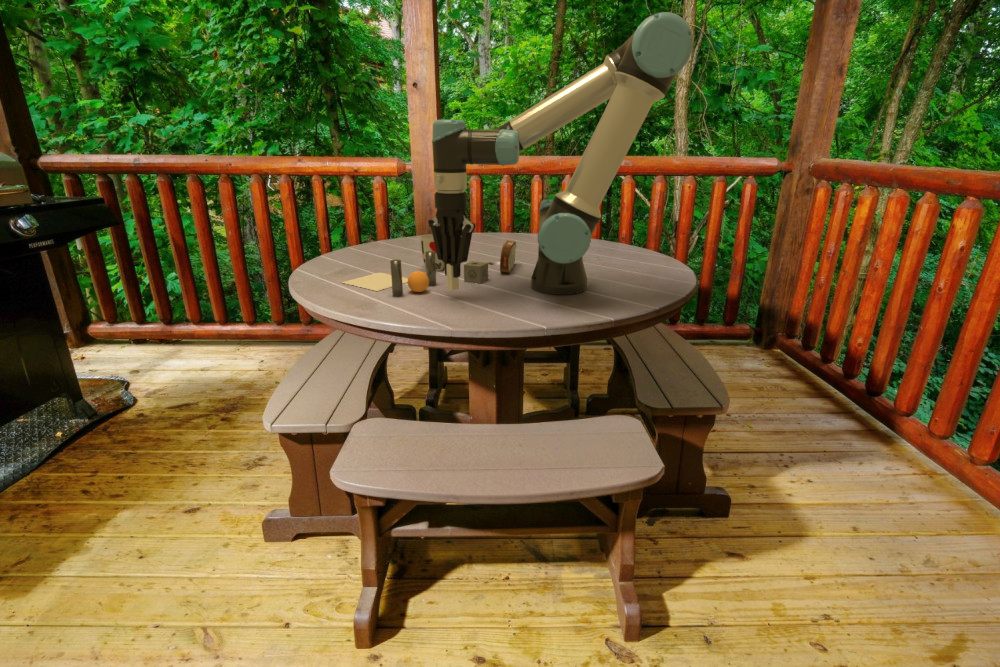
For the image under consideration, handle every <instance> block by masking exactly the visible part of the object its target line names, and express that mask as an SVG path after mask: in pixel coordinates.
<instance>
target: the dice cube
mask: <svg viewBox="0 0 1000 667" xmlns="http://www.w3.org/2000/svg"><path fill="white" fill-rule="evenodd" d="M486 280H487V281H488V280H489V263H488V262H483V261H477V260H475V261H474V260H471V261H469V262H466V263H465V264H463V282H464V283H468V284H469V283H470V284H475V283H477V284H478V285H482V284H483V283H485V282H487V281H486ZM481 283H482V284H481Z"/></svg>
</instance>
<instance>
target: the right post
mask: <svg viewBox="0 0 1000 667" xmlns="http://www.w3.org/2000/svg"><path fill="white" fill-rule="evenodd" d="M425 258H426V267H425V274H426V275H427V276H428V278H429V285H428V287H435V286H437V271H436V263H435V252H434V251H427V252H425Z"/></svg>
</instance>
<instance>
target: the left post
mask: <svg viewBox="0 0 1000 667" xmlns="http://www.w3.org/2000/svg"><path fill="white" fill-rule="evenodd" d="M389 263H390V264H389V265H390V272H391V274H390V275H391V279H392V287H391V288H392V289H391V292H392V297H393V296H394V298H401V297H403V296H404V291H403V290H404V288H403V284H402V277H403V274H402V271H403V270H402V260H401V259H391V260H389Z"/></svg>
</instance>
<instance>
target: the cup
mask: <svg viewBox="0 0 1000 667" xmlns="http://www.w3.org/2000/svg"><path fill="white" fill-rule="evenodd" d="M419 239H420V240H419V241H420V242H419V243H420V248H421V254H422V256H421V257H422V260H423V263H424V267H425V268H426V258H425V252H427V251H434V252H435V263H436V272H441V270H442V271H443V270H445V264H444V262H443V261H442V260H439V259H438V257H437V253H436V248H435V243H434V239H433V234H432V233H430V234H423V235H420V236H419Z"/></svg>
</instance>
